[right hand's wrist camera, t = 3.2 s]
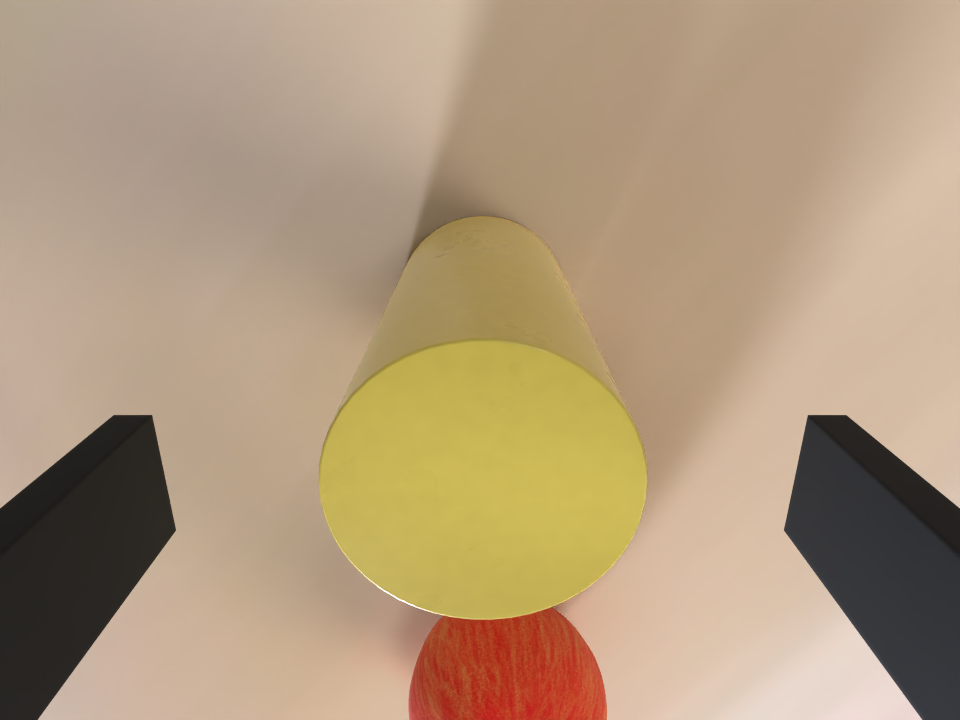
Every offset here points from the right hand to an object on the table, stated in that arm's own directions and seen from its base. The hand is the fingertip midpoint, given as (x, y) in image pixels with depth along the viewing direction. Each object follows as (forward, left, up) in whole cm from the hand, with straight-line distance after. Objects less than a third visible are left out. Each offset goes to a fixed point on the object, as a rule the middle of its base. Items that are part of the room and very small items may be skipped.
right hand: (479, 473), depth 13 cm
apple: (+15, -4, -12) cm, 19 cm away
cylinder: (0, 0, -12) cm, 12 cm away
